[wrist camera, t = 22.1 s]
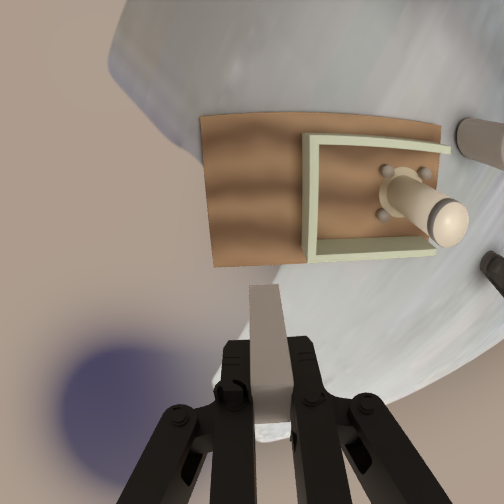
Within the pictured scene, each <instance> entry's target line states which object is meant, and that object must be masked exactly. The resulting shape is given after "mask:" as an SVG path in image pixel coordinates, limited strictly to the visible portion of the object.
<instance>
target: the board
mask: <svg viewBox="0 0 504 504" xmlns="http://www.w3.org/2000/svg"><path fill="white" fill-rule="evenodd" d="M200 125H201V139H202V152H203V164H204V176H205V185H206V186H205V187H206V198H207V208H208V218H209V228H210V238H211V246H212V255H213V264H214V267H235V266H258V265H279V264H299V263H307V261H306V258H305V255H304V253H303V250H302V247H301V245H302V133H343V134H361V135H375V136H387V137H397V138H407V139H415V140H423V141H431V142H435V143H439V144H440V139H441V126H440V125H435V124H429V123H423V122H417V121H410V120H403V119H395V118H386V117H377V116H367V115H354V114H339V113H315V112H264V113H240V114H224V115H212V116H201V117H200ZM439 155H440V153H436V152H428V151H420V150H410V149H399V148H387V147H373V146H355V145H325V144H319V189H318V222H317V240H322V239H347V238H374V237H403V236H422V237H424V238H425V239H426V240H427V241H428V239H429V236H428V235H427V234H426V233H425V232H423V231H422V230H421V229H420V228H418V227H417V226H416V225H415V224H413V223H412V222H411V221H410V220H408V219H407V218H406V217H404V216H403V215H402V214H400V213H399V212H398V211H396V210H395V209H394V208H393V207H391V206H390V204H389V202H388V200H387V189H388V186H389V184H390V182H391V181H392V180H393V179H394V178H395V177H397V176H400V175H406V176H409V177H411V178H413V179H415V180H417V181H419V182H421V183H423V184H425V185H427V186H429V187H431V188H433V189H435V190H436V187H437V178H438V168H439Z"/></svg>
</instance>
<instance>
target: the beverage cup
mask: <svg viewBox="0 0 504 504" xmlns="http://www.w3.org/2000/svg"><path fill="white" fill-rule="evenodd" d="M480 269H481V271H482V272H483V273H484V274H485V276H486V277H487V278H488V279H489V281H490V282H491V283H492V284H493V285H494V286H495V288H496V289H497V290H498V291H499V292H500V294H501V295H502V296H503V297H504V258H503V257H502V256H500V255H499V254H496V253H494V252H493V251H489V252H487V253H486V254H485V255H484V257H483V258H482V260H481V263H480Z"/></svg>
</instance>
